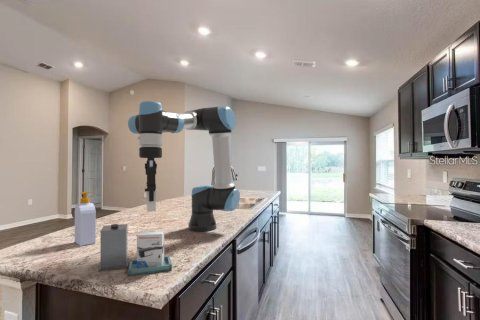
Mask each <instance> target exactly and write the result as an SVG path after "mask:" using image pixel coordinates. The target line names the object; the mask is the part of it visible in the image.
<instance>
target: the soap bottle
mask: <svg viewBox="0 0 480 320" xmlns="http://www.w3.org/2000/svg"><path fill="white" fill-rule="evenodd" d="M88 193H92V194H95V192H94V191H83V192H81V193H80V195H83V197H82V198H80V203H79V204H76V205H74V206H75V208H74V243H76V244H77V245H78V246H80V247H82V246H87V245H92V244H96V240H97V239H96V238H97V234H96V230H97V229H96V222H97V221H96V217H97V216H96V215H97V213H96V207H95V204H94V203H92V202H90V197H88Z"/></svg>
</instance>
